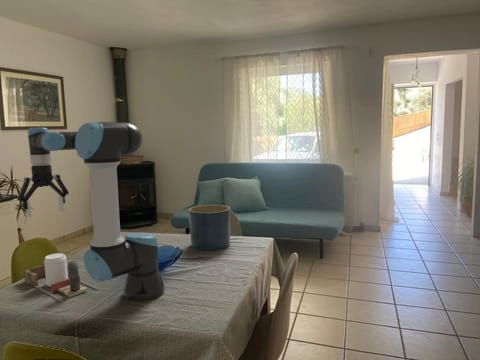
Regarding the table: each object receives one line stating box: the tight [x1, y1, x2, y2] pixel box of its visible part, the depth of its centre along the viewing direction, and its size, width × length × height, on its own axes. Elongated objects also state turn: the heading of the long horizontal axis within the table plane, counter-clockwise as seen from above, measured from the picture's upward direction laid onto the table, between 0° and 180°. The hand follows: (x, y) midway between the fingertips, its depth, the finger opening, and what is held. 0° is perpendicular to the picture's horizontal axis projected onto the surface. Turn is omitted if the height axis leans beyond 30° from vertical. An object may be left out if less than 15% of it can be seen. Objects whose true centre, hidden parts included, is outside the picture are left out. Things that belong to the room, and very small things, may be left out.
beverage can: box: [43, 252, 69, 288], centre depth 151 cm, size 8×8×12 cm
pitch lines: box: [34, 276, 99, 303], centre depth 147 cm, size 23×14×1 cm, turn 51°
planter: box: [188, 204, 231, 252], centre depth 199 cm, size 22×22×20 cm
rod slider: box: [50, 260, 88, 298], centre depth 143 cm, size 10×11×12 cm
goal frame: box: [23, 263, 69, 288], centre depth 157 cm, size 10×14×5 cm
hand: (45, 214), depth 157 cm, fingers open, 13 cm apart
